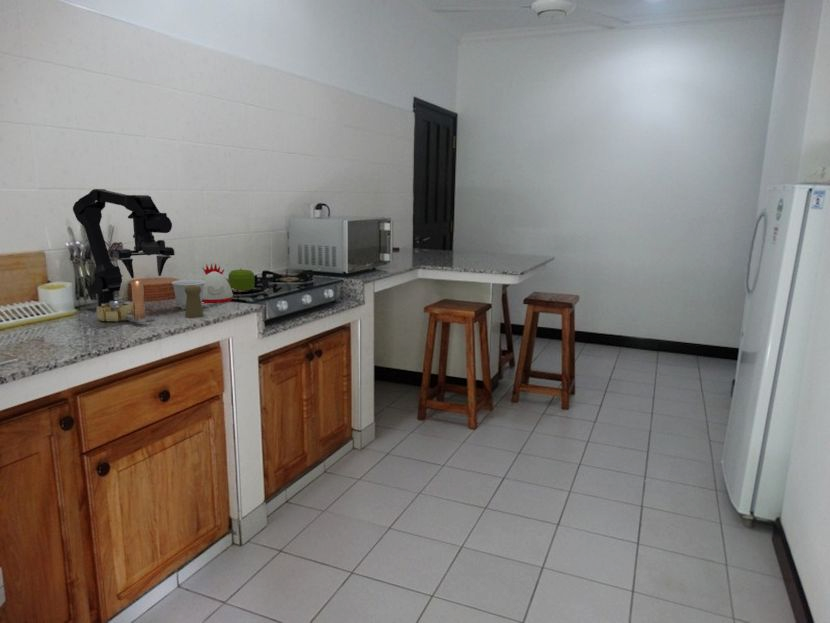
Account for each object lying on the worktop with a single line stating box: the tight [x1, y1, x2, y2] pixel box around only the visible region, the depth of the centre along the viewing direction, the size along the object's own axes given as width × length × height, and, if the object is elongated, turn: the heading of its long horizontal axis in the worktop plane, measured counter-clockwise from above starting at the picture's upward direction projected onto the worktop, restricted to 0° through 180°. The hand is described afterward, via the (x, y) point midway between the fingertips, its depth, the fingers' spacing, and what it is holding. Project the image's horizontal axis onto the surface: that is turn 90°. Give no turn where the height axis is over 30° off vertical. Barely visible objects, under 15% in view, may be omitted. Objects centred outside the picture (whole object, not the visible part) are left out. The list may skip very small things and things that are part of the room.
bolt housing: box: [78, 299, 156, 329], centre depth 192 cm, size 18×18×6 cm
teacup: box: [170, 279, 206, 310], centre depth 212 cm, size 12×15×10 cm
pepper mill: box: [184, 285, 204, 319], centre depth 200 cm, size 6×6×11 cm
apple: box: [227, 267, 255, 290], centre depth 250 cm, size 11×11×11 cm
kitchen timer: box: [201, 263, 234, 304], centre depth 230 cm, size 14×14×15 cm
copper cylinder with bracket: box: [96, 279, 147, 324], centre depth 188 cm, size 20×11×14 cm, turn 58°
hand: (146, 277), depth 201 cm, fingers open, 9 cm apart
